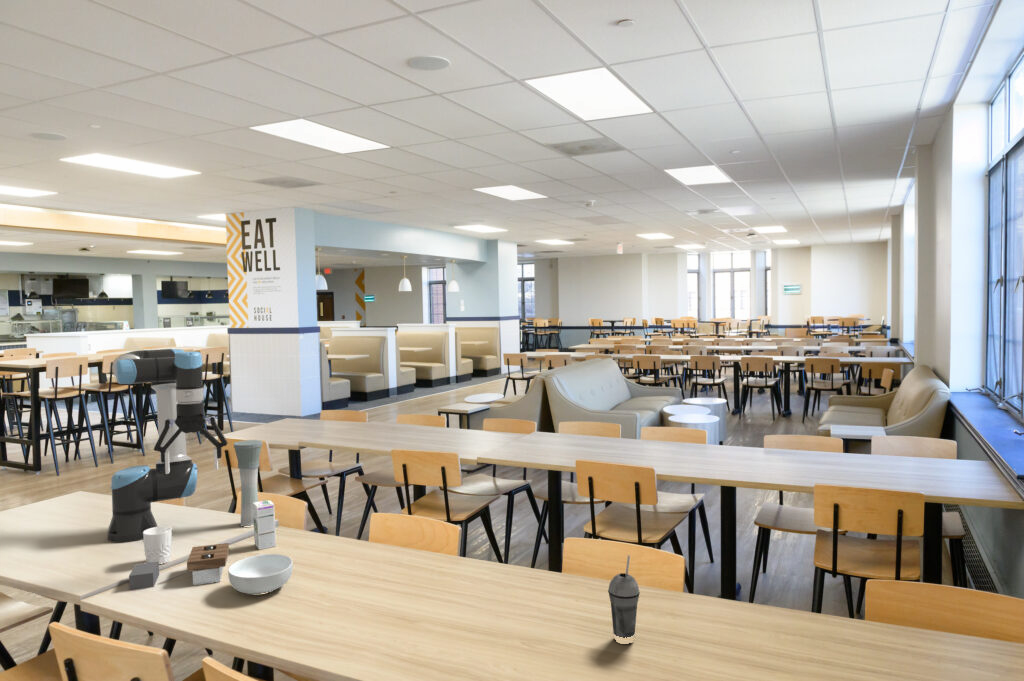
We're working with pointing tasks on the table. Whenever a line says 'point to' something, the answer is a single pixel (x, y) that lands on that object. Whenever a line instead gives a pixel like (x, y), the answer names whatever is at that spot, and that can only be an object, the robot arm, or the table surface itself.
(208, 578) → the chassis
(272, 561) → the cereal bowl
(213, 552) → the board
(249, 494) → the container
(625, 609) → the beverage cup
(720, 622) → the table surface
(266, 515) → the syrup box
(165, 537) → the white cup
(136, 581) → the riser
